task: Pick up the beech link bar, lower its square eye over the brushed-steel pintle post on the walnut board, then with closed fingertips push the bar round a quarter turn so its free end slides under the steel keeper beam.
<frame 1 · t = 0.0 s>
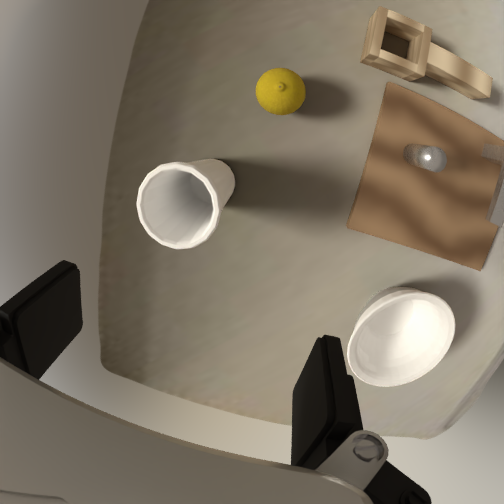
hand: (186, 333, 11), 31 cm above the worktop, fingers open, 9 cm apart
link: (472, 90, 31), on the worktop
pintle: (409, 153, 36), resting on board
lemon: (281, 95, 35), on the worktop
board: (443, 183, 37), on the worktop
bowl: (388, 311, 45), on the worktop
cup: (212, 181, 40), on the worktop
keeper: (484, 152, 34), resting on board
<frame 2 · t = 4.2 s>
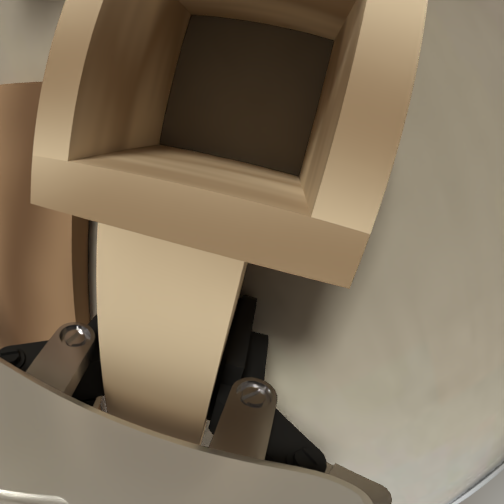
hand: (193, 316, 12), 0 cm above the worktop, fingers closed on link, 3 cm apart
link: (182, 393, 14), on the worktop, touching gripper
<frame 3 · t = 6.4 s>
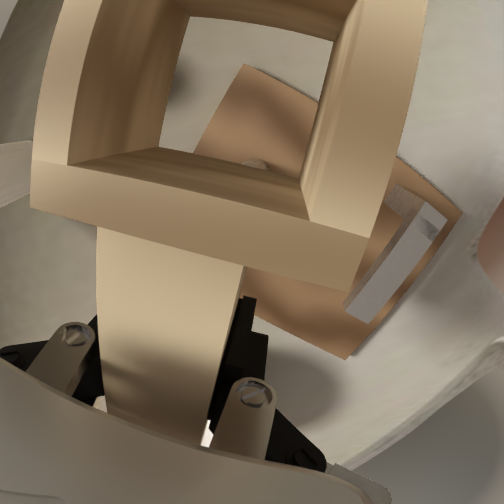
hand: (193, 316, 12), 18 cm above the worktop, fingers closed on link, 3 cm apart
link: (183, 394, 14), point 18 cm above the worktop, touching gripper
pintle: (255, 172, 27), resting on board
board: (306, 227, 29), on the worktop
cup: (31, 165, 29), on the worktop
keeper: (395, 197, 27), resting on board
when the fingers open (3 cm above the worktop, at t = 8.7 s): link drops 2 cm, resting on board.
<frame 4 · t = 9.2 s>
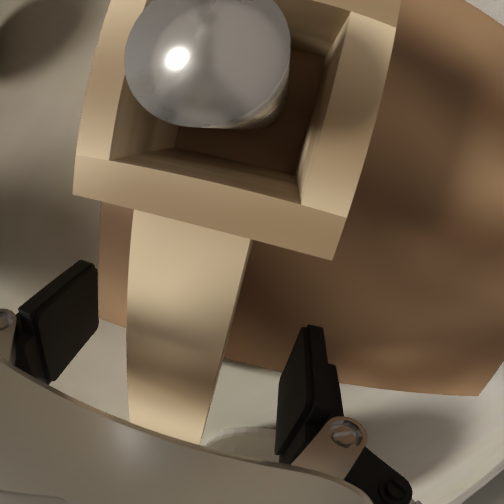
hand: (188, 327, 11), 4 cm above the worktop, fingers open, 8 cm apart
link: (190, 372, 16), point 1 cm above the worktop, touching board
pintle: (252, 97, 12), resting on board
board: (388, 186, 12), on the worktop
bowl: (259, 455, 21), on the worktop
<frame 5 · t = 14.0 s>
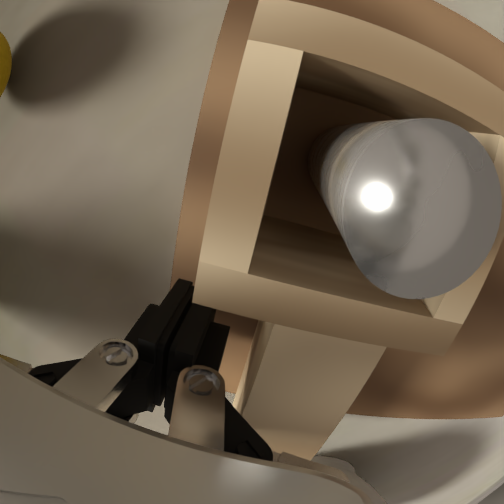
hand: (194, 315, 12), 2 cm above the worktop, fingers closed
link: (256, 418, 16), point 1 cm above the worktop, touching board, gripper
pintle: (341, 160, 12), resting on board
lemon: (10, 75, 11), on the worktop
board: (454, 248, 12), on the worktop
bowl: (302, 477, 20), on the worktop
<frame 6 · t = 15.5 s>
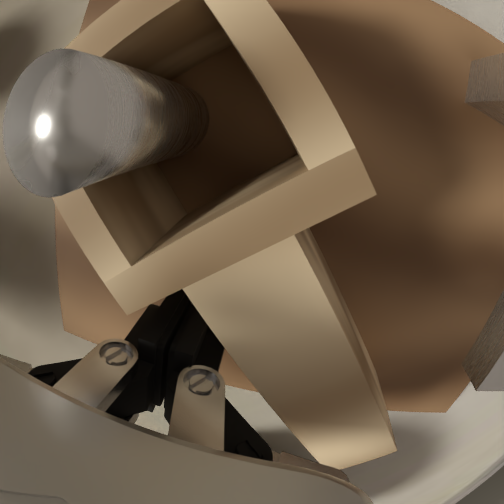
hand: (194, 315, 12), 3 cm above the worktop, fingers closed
link: (349, 382, 15), point 1 cm above the worktop, touching board, gripper, pintle
pintle: (182, 121, 12), resting on board
board: (326, 203, 13), on the worktop
keeper: (475, 95, 10), resting on board
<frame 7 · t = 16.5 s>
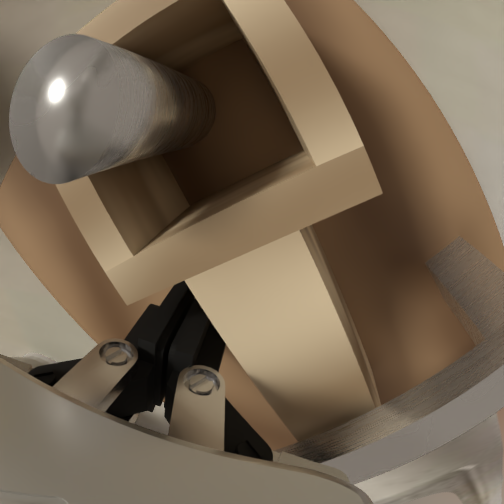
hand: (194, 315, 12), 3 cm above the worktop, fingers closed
link: (344, 381, 15), point 1 cm above the worktop, touching board, gripper
pintle: (188, 113, 12), resting on board
board: (254, 258, 14), on the worktop
bowl: (60, 391, 21), on the worktop
keeper: (441, 258, 13), resting on board
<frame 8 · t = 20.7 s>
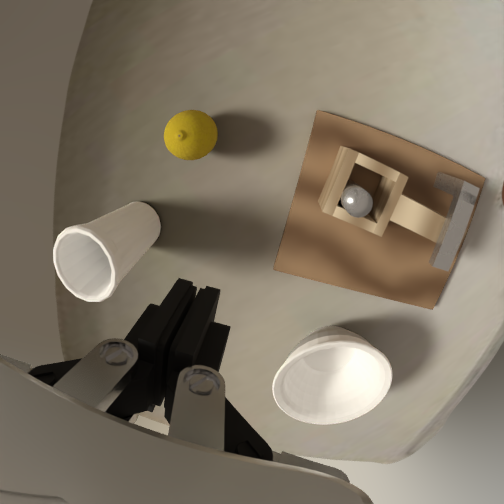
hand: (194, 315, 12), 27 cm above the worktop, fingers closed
link: (443, 228, 35), point 1 cm above the worktop, touching board
pintle: (343, 188, 36), resting on board
lemon: (201, 134, 36), on the worktop
board: (386, 218, 37), on the worktop
bowl: (328, 348, 45), on the worktop
cup: (141, 223, 40), on the worktop
keeper: (438, 180, 34), resting on board
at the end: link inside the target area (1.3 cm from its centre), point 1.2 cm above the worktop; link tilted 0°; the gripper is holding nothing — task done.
